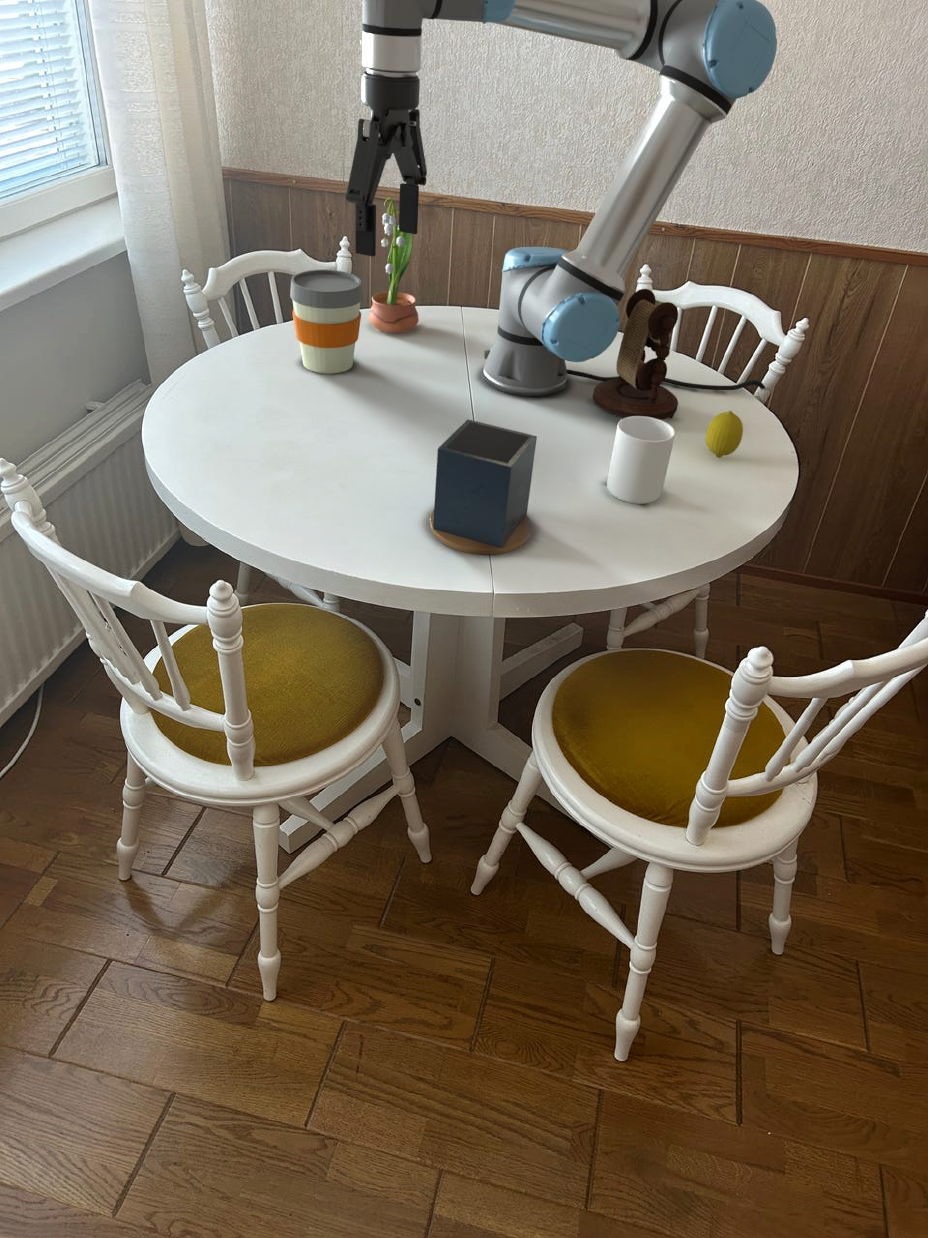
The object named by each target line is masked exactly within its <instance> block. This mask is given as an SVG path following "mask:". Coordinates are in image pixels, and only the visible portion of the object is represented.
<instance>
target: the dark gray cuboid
mask: <svg viewBox="0 0 928 1238" xmlns="http://www.w3.org/2000/svg"><path fill="white" fill-rule="evenodd" d="M537 440H538V436H537V435H534V434H533V435H532V434H529V433H526V432H521V431H517V430H513V429H509V428H506V427H501V426H496V425H493V424H489V423H485V422H481V421H477V420H473V419H468V418H467V419H466V420H465V421H464V422H463V423H462V424H461V425H460V426H459V427H458V428H457V429H456V430H455V431H454V432H453V433H452V434H451V435H450V436H449V437H448V438H446V440H445V441H444V442H443V443H442V444H441V445H440V446H438V448H437V455H436V470H435V471H436V474H435V490H434V505H433V506H434V507H433V510H434V520H433V529H435V530H439V531H442V532H446V533H449V534H453V535H456V536H460V537H464V538H467V539H471V540H474V541H478V542H481V543H485V544H488V545H492V546H495V547H499V548H502V547H503V546H504V545H505V543H506V542H507V541H508V539H509V538H510V536H511V535H512V534H513V532H514V531H515V530H516V528H517V527H518V526H519V524H520V523H521V521H522V520H523V519H524V517H525V516H526V515H527V514H528V509H529V500H530V493H531V484H532V479H533V478H532V477H533V472H534V471H533V469H534V463H535V454H536V446H537ZM527 516H528V515H527Z"/></svg>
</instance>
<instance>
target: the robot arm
mask: <svg viewBox="0 0 928 1238" xmlns="http://www.w3.org/2000/svg"><path fill="white" fill-rule="evenodd" d="M361 2H362V5H361V6H362V37H361V39H360V41H359V42H360V45H361V46H362V47H361V49H362V50H361V56H362V57H361V59H362V60H361V65H362V67H363V68H365V69H366V70H365V71H363V74H361V102H362V104H363V105H364V106H365V107H369V108H370V110H371V114H370V119H364V118H359V119H358V121H357V135H356V136H357V137H356V144H355V148H354V153H353V157H352V162H351V163H352V164H351V169H350V174H349V177H348V178H349V179H348V183H347V188H346V194H345V199H346V202H348V203H350V204H354V205H355V254H358V255H363V256H368V257H373V258H374V257H376V253H377V250H376V249H377V245H376V244H377V204H373V203H374V200H375V197H376V195H377V191H378V189H379V185H380V181H381V179H382V176H383V171H384V169H385V167H386V163H387V161H388V160H390V159H391V158H392V156H394V159H395V162H396V164H397V167H398V170H399V173H400V176H401V178H402V181H403V182H402V183H400V184H399V201H398V203H399V204H398V206H399V207H398V211H399V213H398V224H399V231H400V232H405V233H410V234H412V235H417V234H418V227H419V226H418V225H419V224H418V223H419V202H420V201H419V200H420V199H419V198H420V186H426V184H427V176H428V170H427V162H426V157H425V150H424V145H423V138H422V132H421V111H420V110H419V109H418V107H419V105H420V90H421V89H420V86H421V85H420V84H421V83H420V82H421V80H420V77H419V75H417V73H418V72H420V70H421V69H422V38H423V37H422V34H423V33H422V32H423V27H422V26H423V20H424V19H425V20H443V21H444V20H445V21H455V22H474V23H482V24H483V25H486V24H488V23H491V24H495V25H500V26H504V27H509V28H514V29H519V30H523V31H527V32H533V33H538V34H542V35H545V36H546V35H547V36H551V37H556V38H561V39H565V40H570V41H574V42H578V43H579V42H580V43H585V44H589V45H593V46H597V47H602V48H607V49H612V50H614V52H615V54H616V56H617V57H618V58H619V59H622V60H626V61H630V62H634V63H637V64H640V65H642V66H646V67H648V68H650V69H652V70H654V71H657V72H658V75H657V77H656V79H657V84H658V92H659V94H658V97H657V99H656V101H655V103H654V104H653V107H652V108H651V110H650V112H649V114H648V115H647V118H646V120H645V121H644V123H643V125H642V127H641V128H640V130H639V133H638V134H637V136H636V138H635V139H634V142H633V144H632V146H631V147H630V149H629V150H628V153H627V155H626V157H625V158H624V160H623V162H622V164H621V166H620V168H619V169H618V171H617V173H616V174H615V177H614V179H613V180H612V183H611V185H610V186H609V188H608V189H607V191H606V193H605V195H604V197H603V199H602V201H601V202H600V205H599V207H598V208H597V210H596V212H595V214H594V216H593V217H592V218H591V221H590V223H589V225H588V227H587V229H586V230H585V232H584V234H583V236H582V237H581V240H580V242H579V244H578V246H577V247H576V248H575V249H574V250H572V251H570V250H567V249H563V248H559V247H547V246H523V247H515V248H512V249H510V250H508V252H507V253H505V255H504V261H503V267H502V269H501V273H502V275H501V276H502V277H501V284H500V285H501V288H500V296H499V297H500V298H499V309H498V320H497V321H498V322H497V329H496V330H497V331H496V336H495V339H494V341H493V343H492V346H491V348H490V349H488V350H484V354H483V359H484V360H485V361H484V365H483V371H482V373H483V374H482V377H483V380H484V381H485V383H486V384H488V385H489V386H490V387H492V388H494V389H496V390H498V391H500V392H503V393H506V394H510V395H515V396H522V397H544V396H550V395H554V394H557V393H559V392H561V391H563V390H564V389H565V387H566V385H567V380H568V375H570V376H576V377H580V378H585V379H589V380H593V381H597V382H601V383H602V382H605V381H608V380H611V379H617V378H620V377H619V375H617V376H608V377H607V376H599V375H595V374H592V373H587V372H582V371H578V370H572V369H569V368H567V364H566V362H570V363H571V362H572V363H582V362H586V361H588V360H591V359H594V358H596V357H598V356H600V355H601V354H603V353H604V352H606V350H607V349H608V348H609V347H610V346H611V345H612V344H613V342H614V341H615V339H616V337H617V335H618V332H619V330H620V325H621V320H620V311H619V308H618V306H619V304H620V302H621V301H622V299H623V297H624V296H625V294H626V291H627V290H626V286H625V280H624V276H625V275H626V273H627V272H628V269H629V268H630V266H631V264H632V263H633V260H634V259H635V257H636V255H637V253H638V252H639V250H640V248H641V247H642V245H643V243H644V241H645V239H646V238H647V236H648V234H649V233H650V231H651V229H652V227H653V226H654V224H655V222H656V220H657V218H658V217H659V215H660V213H661V211H662V210H663V208H664V206H665V205H666V203H667V201H668V199H669V198H670V196H671V194H672V192H673V190H674V189H675V187H676V185H677V184H678V181H679V180H680V178H681V177H682V175H683V173H684V171H685V169H686V167H687V166H688V164H689V162H690V160H691V159H692V157H693V154H694V153H695V151H696V150H697V148H698V146H699V145H700V143H701V141H702V139H703V137H704V136H705V134H706V132H707V130H708V129H709V127H710V126H711V125H712V124H714V123H717V122H719V121H722V120H725V119H726V118H727V116H728V115H729V113H730V112H731V110H732V107H733V106H734V104H735V102H736V101H737V99H741V98H744V97H747V96H748V95H749V94H752V93H754V92H756V91H757V90H758V89H759V88H760V87H761V86H762V85H763V84H764V82H765V81H766V80H767V78H768V76H769V75H770V73H771V70H772V68H773V66H774V62H775V58H776V55H777V48H778V39H777V27H776V22H775V21H774V20H775V19H774V17H773V16H772V13H771V12H770V10H769V9H768V8H767V7H766V6H765V5H764V4H763V3H762V2H760V1H759V0H362V1H361ZM662 383H665V384H670V385H673V386H676V387H677V386H678V387H683V388H689V389H697V390H705V391H706V390H708V391H737V390H739V389H743V388H745V387H746V388H747V387H748V386H752V385H755V386H757V387H758V388H760V389H762V390H766V386H765V385H764V383H763V382H761V381H760V380H758V379H751V380H747V381H744V382H741V383H738V384H734V385H715V384H714V385H713V384H702V383H701V384H699V383H691V382H687V381H686V382H684V381H680V380H675V379H672V378H667V377H665V379H664V381H663V382H662Z"/></svg>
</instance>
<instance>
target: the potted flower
mask: <svg viewBox="0 0 928 1238" xmlns="http://www.w3.org/2000/svg"><path fill="white" fill-rule="evenodd" d="M390 199H393V196H389V197H387V198H386V199H385V201H384V203H383V206H384V207H385V206H386V203H387V201H388V200H390ZM397 214H399V210H396V205H395V201H394V200H391V201H390V202H389V206H388V207H387V210H386V213H385V212H384V213H383V215H382V219H381V221H382V225H383V226H384V232H383V234H384V237H386V236H392V235H393V239H392V242H391V246H390V248H389V253H388V257H387V264H386V265H385V273H386V274H388V279H389V289H388V291H382V292H378V293H375V294H374V295H372V297H371V300H372V305H371V307H370V309H369V312H368V321H369V322H370V324H371V326H373V327H374V328H375V329H377V330H378V331H381V332H385V333H388V334H389V333H391V334H401V333H406V332H409V331H411V330H413V329H415V328H416V326H417V325H418V324H419V312H418V310H417V308H416V303H417V299H416V298H415V296H413V295H412V294H409V293H405V292H401V291H399V285H400V282H401V280H402V277H403V275H404V273H405V272H406V270H407V268H408V266H409V264H410V259H411V254H412V249H413V234H410V233H405V232H400V231H399V223H398V222H397V221H398V220H397ZM381 247H383V248H386V247H389V240H388V238H382V239H381Z"/></svg>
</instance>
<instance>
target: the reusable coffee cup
mask: <svg viewBox="0 0 928 1238" xmlns="http://www.w3.org/2000/svg"><path fill="white" fill-rule="evenodd" d="M289 293H290V294H289V297H290V299H291V300H292V304H293V305H292V306H293V309H292V320H293V325H294V331H295V338H296V339H297V340H298V341H299V346H300V352H301V359H302V364H303V366H304V368H306V369H307V370H308V371H312V372H314V373H319V374H338V373H343V372H347V371H348V370H351V368H352V367H353V365H354V364H353V363H354V356H355V347H356V342H358V340H359V335H360V327H361V320H362V312H361V311H360V309H361V302H362V301H363V287H362V280H361V278H359V277H358V276H357V275H355V274H353V273H350V272H347V271H342V270H338V269H309V270H303V271H299V272H297V273H294V275H293V276H291V278H290V292H289Z"/></svg>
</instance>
